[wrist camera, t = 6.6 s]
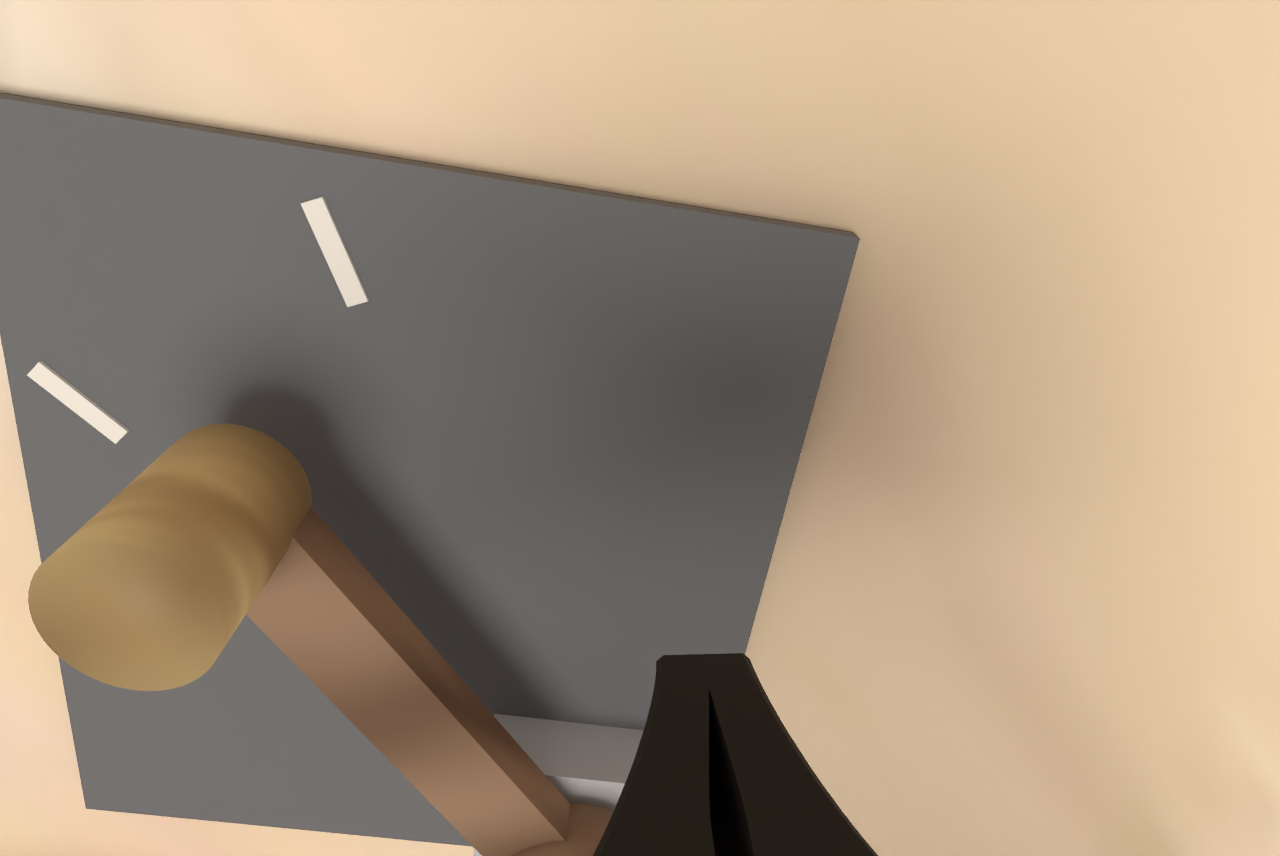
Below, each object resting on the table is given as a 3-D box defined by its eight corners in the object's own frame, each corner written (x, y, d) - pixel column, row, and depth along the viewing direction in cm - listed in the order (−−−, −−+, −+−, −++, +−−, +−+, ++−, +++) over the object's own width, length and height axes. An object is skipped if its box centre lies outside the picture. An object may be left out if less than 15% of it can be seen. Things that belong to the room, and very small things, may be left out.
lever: (676, 875, 24) (686, 1046, 20) (548, 925, 25) (532, 1099, 21) (266, 385, 17) (155, 494, 13) (111, 477, 18) (-39, 607, 14)
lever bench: (684, 850, 28) (689, 926, 26) (97, 792, 26) (45, 867, 24) (852, 232, 19) (884, 261, 17) (-23, 89, 17) (-125, 97, 15)
